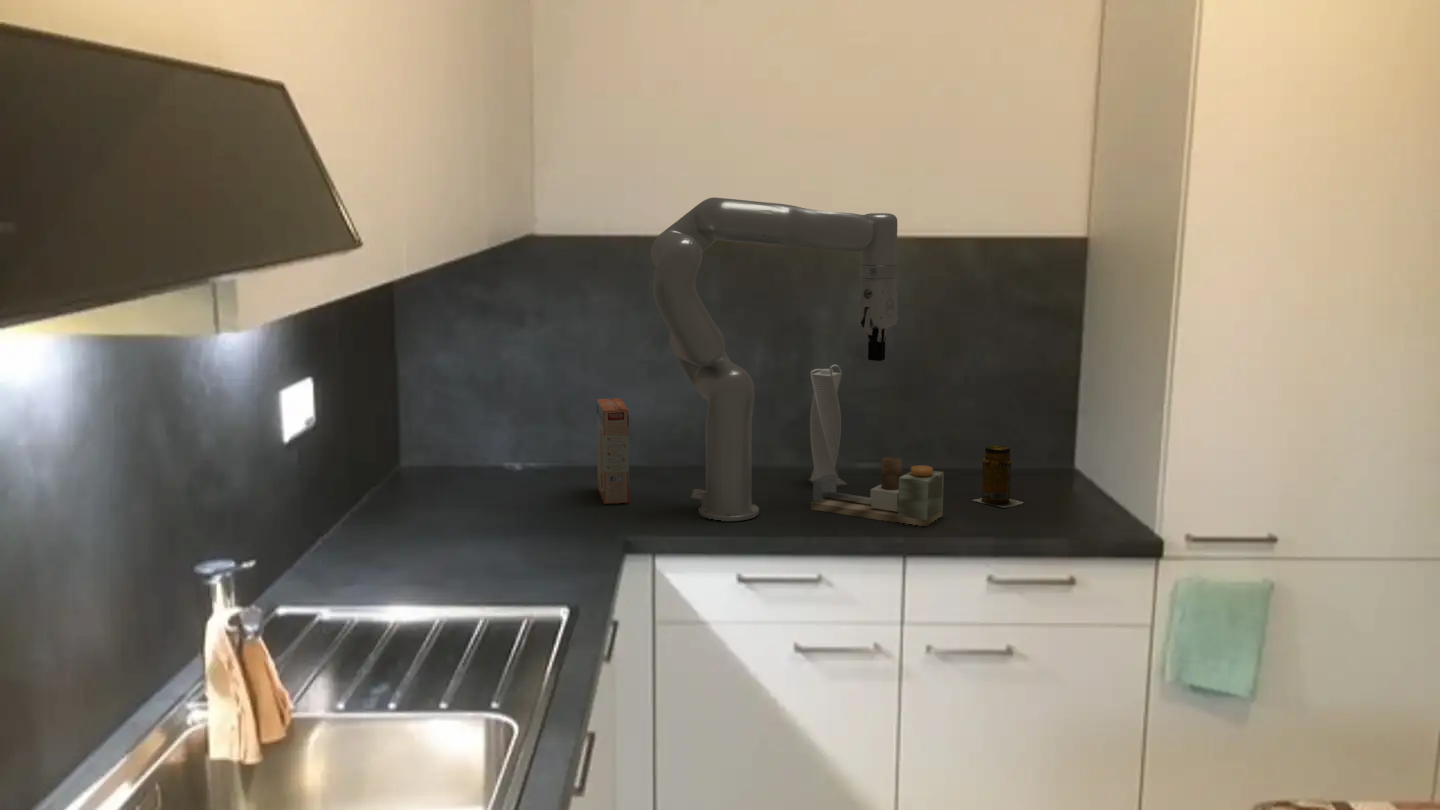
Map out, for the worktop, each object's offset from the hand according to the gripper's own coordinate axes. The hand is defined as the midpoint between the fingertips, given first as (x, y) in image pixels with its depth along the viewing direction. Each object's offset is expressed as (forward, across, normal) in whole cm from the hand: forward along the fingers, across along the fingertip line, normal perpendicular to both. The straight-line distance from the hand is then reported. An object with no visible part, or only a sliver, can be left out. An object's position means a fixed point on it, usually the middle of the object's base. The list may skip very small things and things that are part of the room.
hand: (876, 359), depth 269 cm
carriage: (+29, -8, -7) cm, 31 cm away
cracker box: (+31, -25, +51) cm, 65 cm away
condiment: (+31, +14, -23) cm, 41 cm away
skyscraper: (+31, +9, +16) cm, 36 cm away
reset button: (+23, -7, -14) cm, 28 cm away
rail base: (+31, -8, -4) cm, 32 cm away
